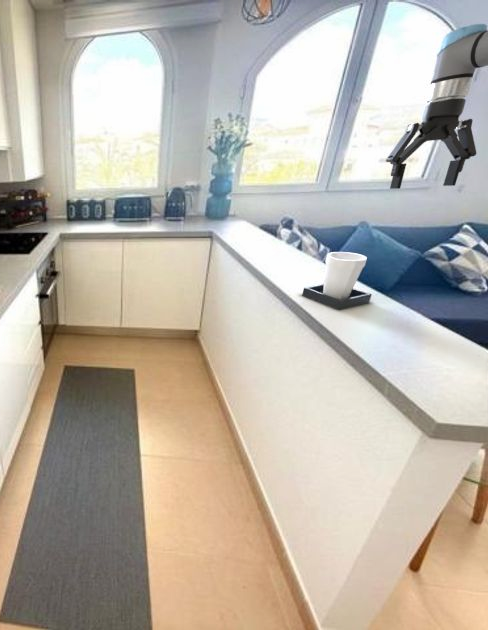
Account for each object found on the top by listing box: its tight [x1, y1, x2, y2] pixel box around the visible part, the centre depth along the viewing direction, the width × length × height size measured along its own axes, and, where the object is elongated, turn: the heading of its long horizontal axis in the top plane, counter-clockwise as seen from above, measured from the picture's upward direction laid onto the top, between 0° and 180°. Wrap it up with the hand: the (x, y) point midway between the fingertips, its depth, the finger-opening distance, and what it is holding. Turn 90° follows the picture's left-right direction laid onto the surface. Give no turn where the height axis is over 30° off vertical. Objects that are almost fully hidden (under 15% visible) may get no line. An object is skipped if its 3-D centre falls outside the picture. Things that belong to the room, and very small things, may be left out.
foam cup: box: [323, 251, 368, 300], centre depth 104 cm, size 10×9×13 cm
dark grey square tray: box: [301, 283, 373, 311], centre depth 107 cm, size 12×12×3 cm
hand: (421, 187), depth 97 cm, fingers open, 13 cm apart
